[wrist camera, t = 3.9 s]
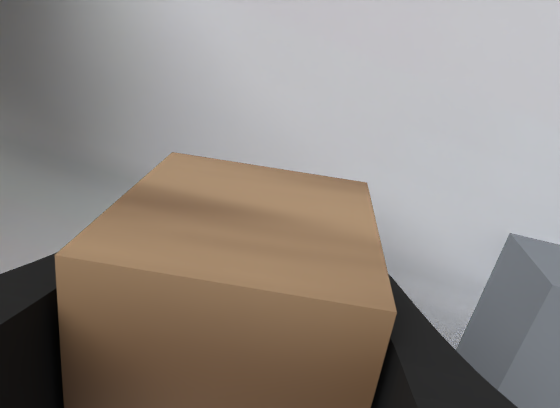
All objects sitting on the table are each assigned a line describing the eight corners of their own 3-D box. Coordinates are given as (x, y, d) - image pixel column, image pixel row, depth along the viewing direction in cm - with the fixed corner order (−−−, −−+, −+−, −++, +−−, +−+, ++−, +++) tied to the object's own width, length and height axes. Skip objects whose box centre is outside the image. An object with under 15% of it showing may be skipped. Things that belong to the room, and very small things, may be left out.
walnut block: (332, 342, 12) (334, 538, 8) (165, 313, 12) (68, 489, 8) (367, 182, 11) (397, 312, 6) (172, 152, 11) (54, 255, 6)
